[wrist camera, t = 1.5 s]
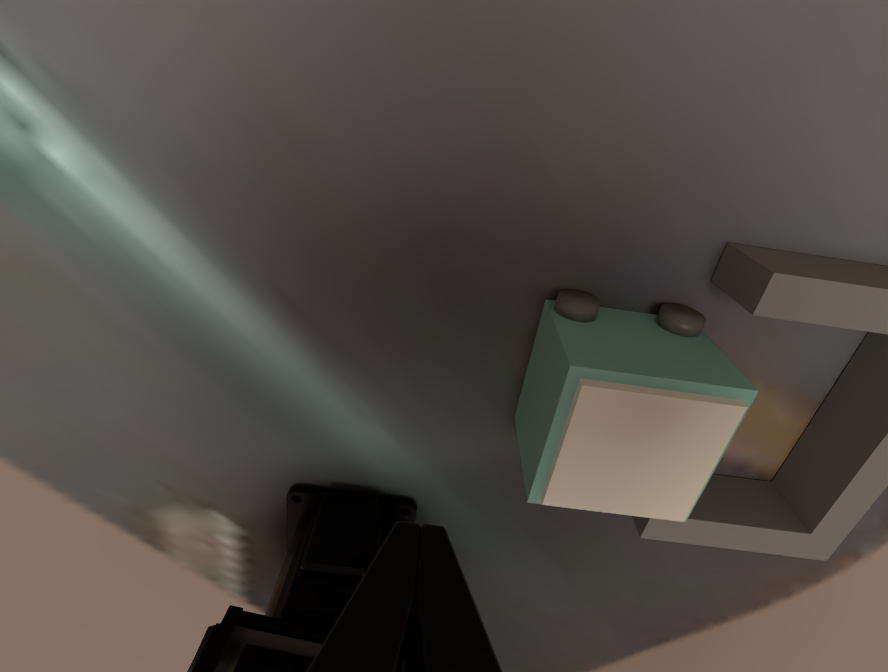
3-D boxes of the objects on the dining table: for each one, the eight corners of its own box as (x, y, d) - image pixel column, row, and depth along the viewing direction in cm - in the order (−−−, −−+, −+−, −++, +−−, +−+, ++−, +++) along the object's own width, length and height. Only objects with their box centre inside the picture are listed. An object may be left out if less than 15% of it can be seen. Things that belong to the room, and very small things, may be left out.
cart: (637, 443, 23) (684, 541, 18) (511, 426, 22) (525, 522, 18) (697, 305, 19) (775, 382, 14) (548, 284, 19) (578, 355, 14)
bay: (786, 506, 24) (826, 560, 21) (620, 485, 24) (640, 537, 21) (947, 275, 18) (1030, 310, 15) (727, 242, 18) (774, 272, 15)
